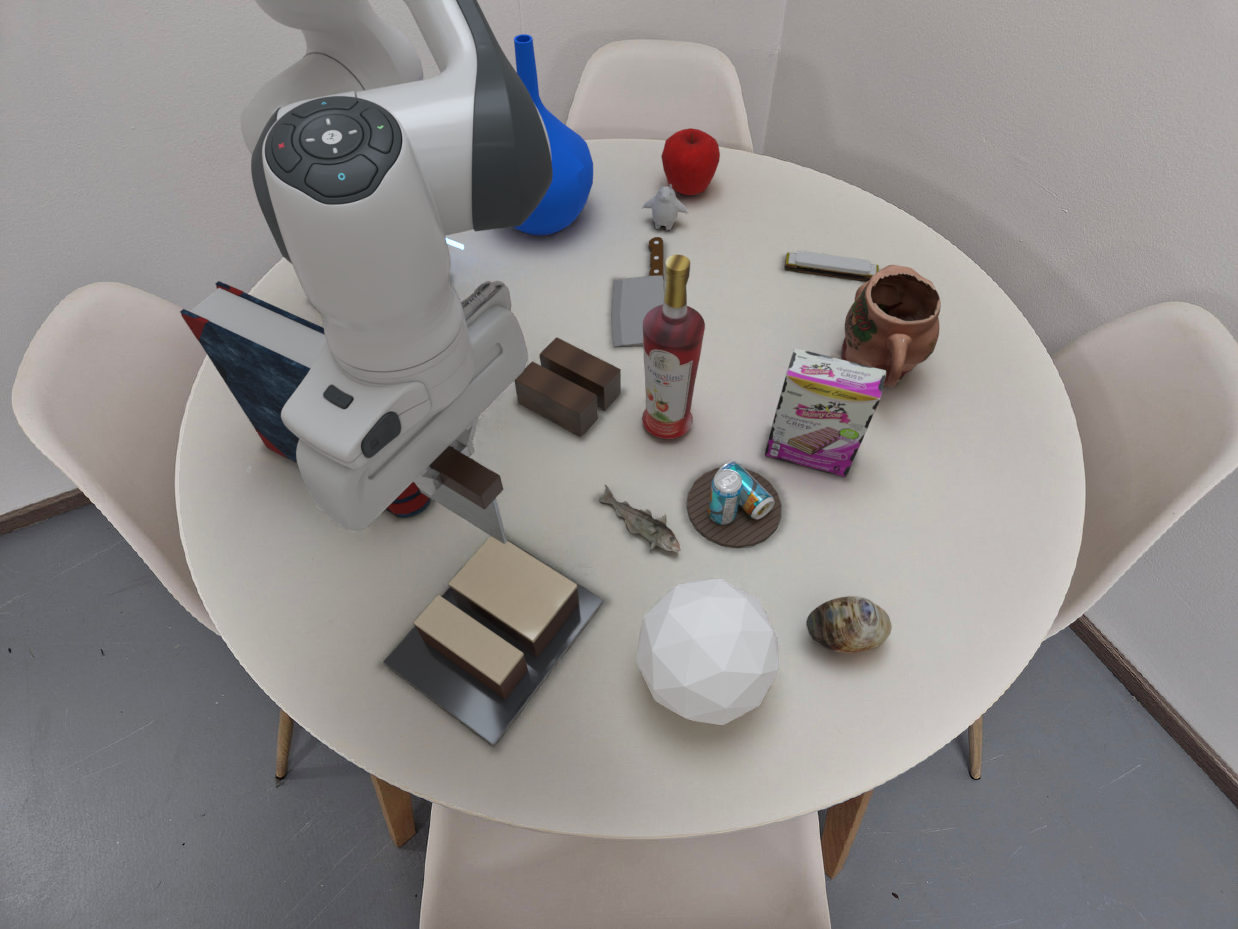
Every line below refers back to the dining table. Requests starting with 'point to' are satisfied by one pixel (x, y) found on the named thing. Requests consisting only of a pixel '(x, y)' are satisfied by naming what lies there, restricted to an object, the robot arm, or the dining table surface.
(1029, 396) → the dining table surface
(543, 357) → the slicer stand
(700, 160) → the apple
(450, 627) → the cake slice
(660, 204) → the figurine
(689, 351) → the liquor
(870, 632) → the seashell
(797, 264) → the harmonica
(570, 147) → the vase
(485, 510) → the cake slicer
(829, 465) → the candy bar box
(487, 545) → the cake
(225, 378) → the book
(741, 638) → the geometric shape
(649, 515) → the fish
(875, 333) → the decorative planter
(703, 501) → the drink cans on coaster
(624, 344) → the kitchen cleaver
